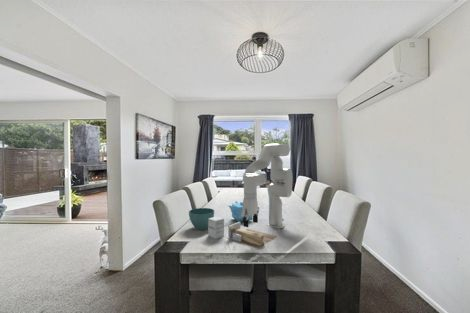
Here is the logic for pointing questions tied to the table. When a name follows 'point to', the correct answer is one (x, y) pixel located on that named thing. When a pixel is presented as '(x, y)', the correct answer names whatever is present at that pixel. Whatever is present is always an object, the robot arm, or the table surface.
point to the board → (266, 239)
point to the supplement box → (216, 227)
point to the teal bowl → (201, 217)
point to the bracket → (232, 234)
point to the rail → (251, 236)
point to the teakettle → (238, 211)
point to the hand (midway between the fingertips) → (250, 224)
